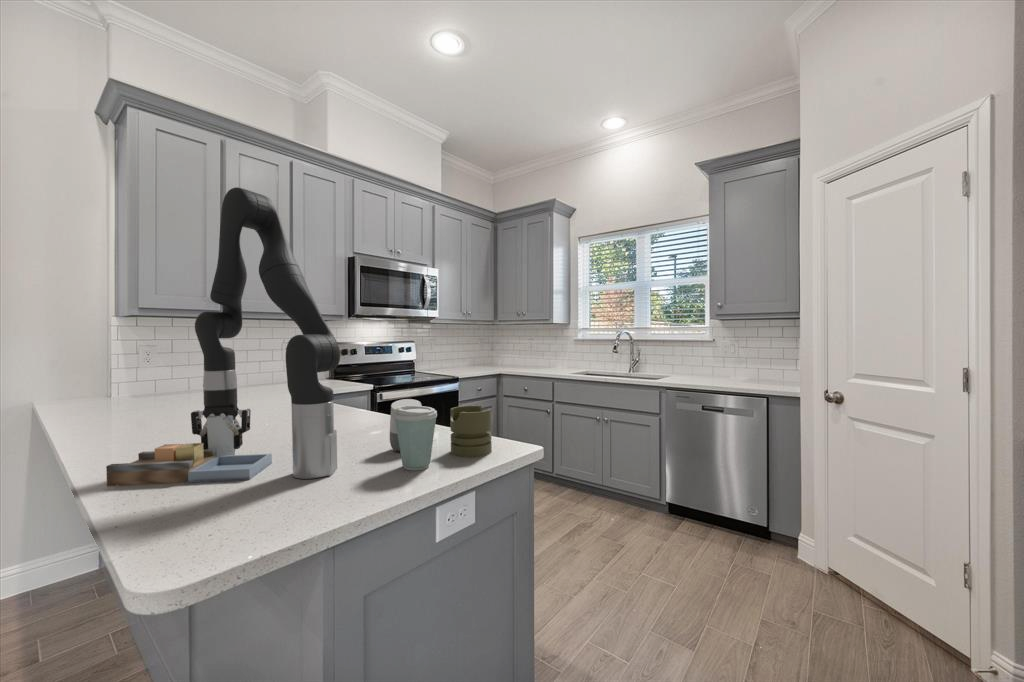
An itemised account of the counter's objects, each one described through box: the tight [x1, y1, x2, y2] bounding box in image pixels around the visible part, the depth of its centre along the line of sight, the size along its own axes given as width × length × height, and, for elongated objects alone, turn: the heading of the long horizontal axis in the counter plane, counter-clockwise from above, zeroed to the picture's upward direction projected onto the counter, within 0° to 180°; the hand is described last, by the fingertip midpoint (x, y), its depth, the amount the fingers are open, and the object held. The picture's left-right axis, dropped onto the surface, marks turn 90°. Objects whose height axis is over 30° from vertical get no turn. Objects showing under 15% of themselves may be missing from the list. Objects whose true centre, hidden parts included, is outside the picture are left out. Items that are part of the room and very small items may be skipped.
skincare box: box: [206, 415, 237, 456], centre depth 121 cm, size 6×4×12 cm
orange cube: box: [154, 443, 184, 462], centre depth 108 cm, size 4×4×4 cm
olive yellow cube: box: [176, 442, 204, 464], centre depth 109 cm, size 4×4×4 cm
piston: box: [449, 405, 493, 459], centre depth 126 cm, size 11×12×11 cm
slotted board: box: [105, 449, 217, 487], centre depth 108 cm, size 17×12×4 cm
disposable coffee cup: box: [394, 405, 438, 471], centre depth 113 cm, size 11×11×15 cm
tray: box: [187, 453, 273, 484], centre depth 110 cm, size 13×13×2 cm
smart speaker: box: [389, 398, 423, 453], centre depth 129 cm, size 10×9×14 cm
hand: (222, 449), depth 121 cm, fingers closed on skincare box, 7 cm apart
